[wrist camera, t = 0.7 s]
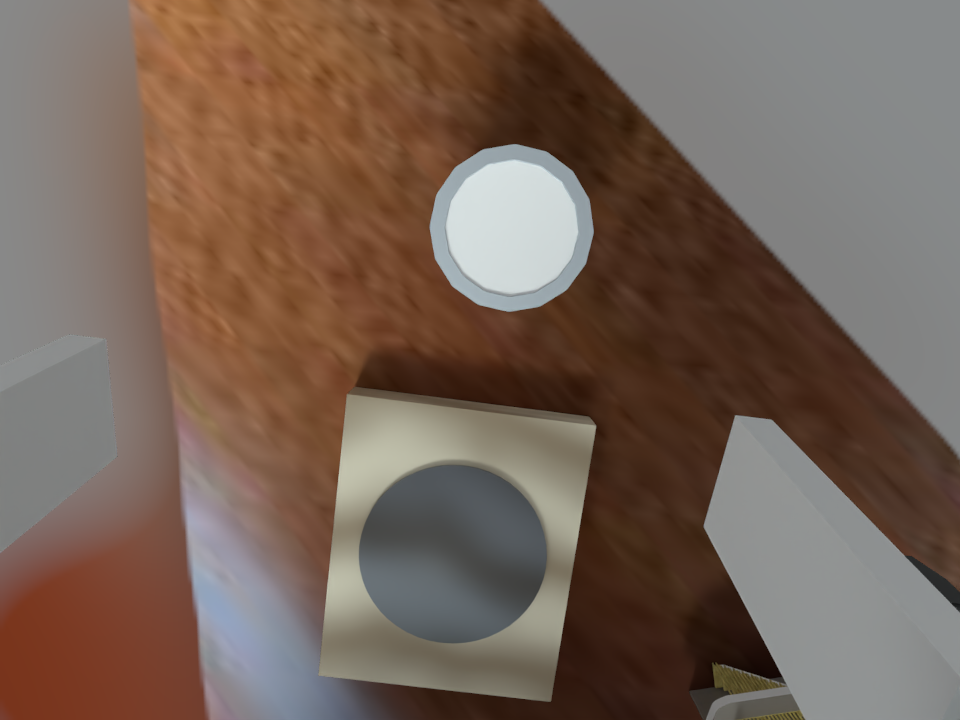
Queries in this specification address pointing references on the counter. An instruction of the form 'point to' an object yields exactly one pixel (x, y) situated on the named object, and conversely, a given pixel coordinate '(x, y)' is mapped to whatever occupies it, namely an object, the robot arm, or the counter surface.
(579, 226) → the shot glass
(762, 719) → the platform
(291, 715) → the counter surface
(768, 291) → the counter surface
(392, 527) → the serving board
